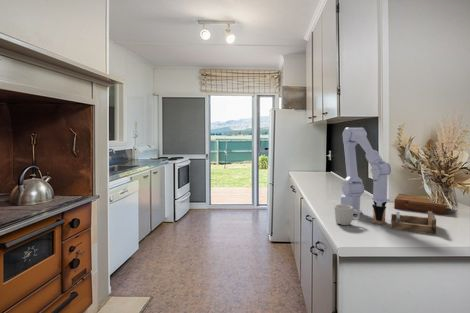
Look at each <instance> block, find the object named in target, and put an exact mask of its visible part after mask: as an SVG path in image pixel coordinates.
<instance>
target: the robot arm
mask: <svg viewBox="0 0 470 313" xmlns="http://www.w3.org/2000/svg"><path fill="white" fill-rule="evenodd" d="M367 136H368V133H367V131H366V129H365V128H364V127H349V126H348V127H345V128H344V130H343V131H342V143H343V149H344V158H345V171H346V177H345V178H344V179H343V180H342V186H341V191H342V194H341V196H340V205H348V206H352V207H353V209H354V210H357V211H359V213H360V214H362V210H361V196H363V193H364V192H365V186H364V183H363V179H361V178H360V177H359V174H358V164H357V162H358V161H357V155H356V153H357V152H356V146H357V145H358V144H359V145H360V147H361V148H362V150H363V151H364V152H365V155H364V157H365V159H366V160H367V162H368V164H369V165H370V167H371V168H370V172H371V173H370V174H371V176H372V180H373V186H372V189H373V190H372V198H371V199H372V201H373V203H372V208H373V209H374V211H375V217H376V220H377V221H382V217H383V213H384V210H385V209H387V203H388V202H390V198H388V176H389V175H390V174H391V171H392V167H391V165H390V164H389V163H388V162H386V161H385V160H383V158H382V157H381V155H380V153H379V151H377V149H376V150H375V149H373V147H372V146H371V143H370V141H369V139H368V137H367ZM382 205H383V206H382ZM373 209H372V210H373ZM353 215H358V214H357V212H354V213H353Z"/></svg>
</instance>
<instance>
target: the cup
mask: <svg viewBox="0 0 470 313" xmlns="http://www.w3.org/2000/svg"><path fill="white" fill-rule="evenodd" d="M354 212H357V214H356V215H357V216H356V217H354V214H353V213H354ZM334 215H335V216H334V217H335V218H334V219H335V223H336V224H337V223H338V224H337V225H339V224H341V225H340V226H349V225H351V223H352V222H353V221H358V220H359V219H360V216H361V213H359V211H357V210H354V209H353V207H352V206H348V205H341V204H336V205H334Z"/></svg>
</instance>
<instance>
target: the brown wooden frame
mask: <svg viewBox="0 0 470 313" xmlns="http://www.w3.org/2000/svg"><path fill="white" fill-rule="evenodd" d="M390 220H391V223H390V224H391V226H390V228H391V230H396V231H397V230H398V231H404V232H413V233H421V234H428V235H436V231H437V218H436V217H435V215H434V213H432V211H428V213H427V217H426V216H415V215H406V214H400V222H396V213H391V218H390Z"/></svg>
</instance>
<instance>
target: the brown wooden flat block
mask: <svg viewBox="0 0 470 313" xmlns="http://www.w3.org/2000/svg"><path fill="white" fill-rule="evenodd" d="M427 197H428V196H427V195H426V196H425V195H417V194H416V195H415V194H406V193H398V194H397V196H396V197H395V198H394V204H393V205H394V207H393V208H394V209H395V210H402V209H403V211H410V212H411V211H412V212H418V211H419V212H420V213H426V212H428V211H432V213H433V214H434V213H436V214H435V215H442V214H445V215H444V216H446V213H447V204H446V205H444V204H438V203H434V202H431V201H429V200H428V199H427Z"/></svg>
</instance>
